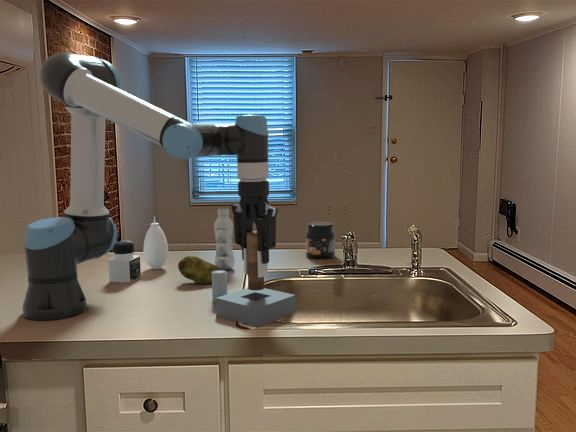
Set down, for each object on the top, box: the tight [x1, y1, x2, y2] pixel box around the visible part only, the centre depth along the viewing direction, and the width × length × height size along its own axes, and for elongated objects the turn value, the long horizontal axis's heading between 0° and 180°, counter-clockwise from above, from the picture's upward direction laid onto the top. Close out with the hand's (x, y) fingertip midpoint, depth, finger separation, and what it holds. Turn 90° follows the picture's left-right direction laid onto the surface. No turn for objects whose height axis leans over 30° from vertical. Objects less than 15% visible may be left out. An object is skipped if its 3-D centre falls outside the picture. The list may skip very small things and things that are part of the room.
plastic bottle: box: [213, 208, 235, 271], centre depth 190 cm, size 6×7×20 cm
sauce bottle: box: [142, 215, 169, 271], centre depth 193 cm, size 8×8×18 cm
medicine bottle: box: [107, 240, 142, 284], centre depth 179 cm, size 7×7×12 cm
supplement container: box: [305, 221, 336, 260], centre depth 209 cm, size 10×10×12 cm
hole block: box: [215, 287, 297, 328], centre depth 145 cm, size 14×14×4 cm
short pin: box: [211, 270, 228, 304], centre depth 156 cm, size 4×4×8 cm
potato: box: [177, 255, 224, 285], centre depth 175 cm, size 8×13×8 cm, turn 74°
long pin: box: [247, 230, 265, 290], centre depth 143 cm, size 4×4×14 cm
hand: (255, 274), depth 144 cm, fingers closed on long pin, 4 cm apart
